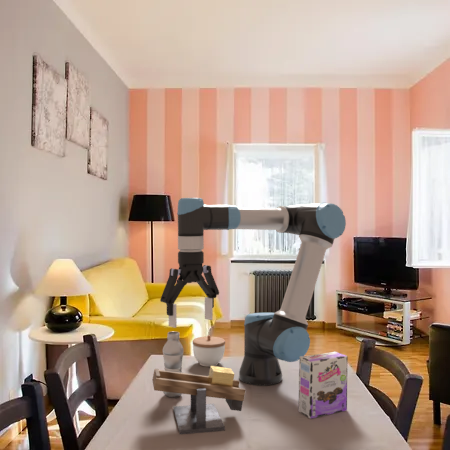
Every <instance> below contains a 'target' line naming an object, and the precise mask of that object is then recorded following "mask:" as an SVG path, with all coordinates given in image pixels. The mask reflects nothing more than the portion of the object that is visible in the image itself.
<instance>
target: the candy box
mask: <svg viewBox="0 0 450 450" xmlns="http://www.w3.org/2000/svg"><path fill="white" fill-rule="evenodd" d="M348 358H349V357H348V355H347V354H343V353H340V352H338V351H331V352H325V353H318V354H317V353H316V354H312V355H311V354H310V355H304V356H301V357H300V359H299V373H298V380H299V381H298V412H299V413H301V414H302V415H304V416H305V417H307V418H309V420H311V419H315V418H318V417H323V416H327V415H328V416H329V415H333V414H337V413H341V412H346V411H347V410H348Z"/></svg>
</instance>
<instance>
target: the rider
mask: <svg viewBox="0 0 450 450" xmlns="http://www.w3.org/2000/svg"><path fill="white" fill-rule="evenodd" d="M207 376H208V381H207V384H212V385H220V386H228V387H232V385H233V380H235V379H234V378H235V373H234V371H233V369H232V368H231V367H222V366H217V365H216V366H210V368H209V371H208V375H207Z"/></svg>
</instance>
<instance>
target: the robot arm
mask: <svg viewBox="0 0 450 450" xmlns="http://www.w3.org/2000/svg"><path fill="white" fill-rule="evenodd" d="M176 215H177V249H178V250H179V251H178V252H177V264H178V265H179V266H178V268H170V269H169V275H168V279H167V281H166V283H165V286H164V289H163V290H162V294H161V297H160V303H164V304H166V315H167V316H168V327H172V328H177V326H178V325H177V303H175V302H176V300H177V299H178V297H179V296H180V293H181V292H182V291H183V289H184V287H185V286H187V284H191V283H197V284H198V286H199V287H200V288H201V290H202V291H203V293H204V294H205V295H206V297H205V296H204V319H205V320H209V321H213V320H214V319H213V315H214V314H213V312H214V311H213V309H214V306H215V299H216V298H217V296H218V295H219V294H220V290H219V287H218V286H217V283H216V280H215V278H214V276H213V272H212V266H211V265H208V264H207V265H206V264H205V265H203V264H204V262H205V259H204V257H205V256H204V251H202V250H204V247H205V244H204V243H205V241H204V233H205V232H204V231H209V230H210V231H211V230H212V231H217V230H218V231H221V230H224V231H225V230H226V231H229V230H256V231H258V230H264V231H267V230H268V231H270V230H271V231H275V232H277V233H279V234H282V233H283V234H285V233H286V234H290V235H296V236H298V237H299V240H300V243H301V244H300V247H299V250H298V253H297V255H296V256H297V257H296V260H295V263H294V265H293V269H292V272H291V274H290V279H289V280H288V285H287V287H286V291H285V293H284V297H283V299H282V303H281V306H280V309H279V310H277V311H275V312H253V313H248V314H246V315H245V317H244V324H243V326H244V338H243V339H244V341H243V342H244V347H243V348H244V354H243V359H242V362H241V365H240V369H239V371H238V378H239V379H238V380H239V381H241V382H242V383H245V384H248V385H253V386H272V385H276V384H280V382H282V380H283V371H282V369H281V364H280V361H282V362H283V361H284V362H287V363H294V362H297V361H298V362H299V361H300V357H301V356H306V354H307V352H308V351H309V349H310V346H311V338H310V334H309V332H308V327H309V323H308V321H307V318H306V317H307V314H308V310H309V308H310V307H309V306H310V304H311V301H312V298H313V294H314V290H315V287H316V285H317V281H318V278H319V274H320V271H321V268H322V265H323V261H324V258H325V254H326V252H327V250H329V249H330V248H332V247H333V244H334V242H335V239H337V238H339V237H341V236H342V235H343V234H344V232H345V230H346V225H347V223H346V222H347V221H346V216H345V215H344V212H343V209H342V208H341V207H340V206H338V205H337V204H335V203H332V202H331V203H329V202H318V203H302V204H295V205H279V206H277V207H276V208H271V207H269V208H268V207H265V208H264V207H246V206H245V207H244V206H243V207H242V206H236V205H232V204H205V203H204V199H203V198H201V197H182V198H179V199H178V202H177V213H176ZM202 274H203V275H202Z"/></svg>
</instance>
